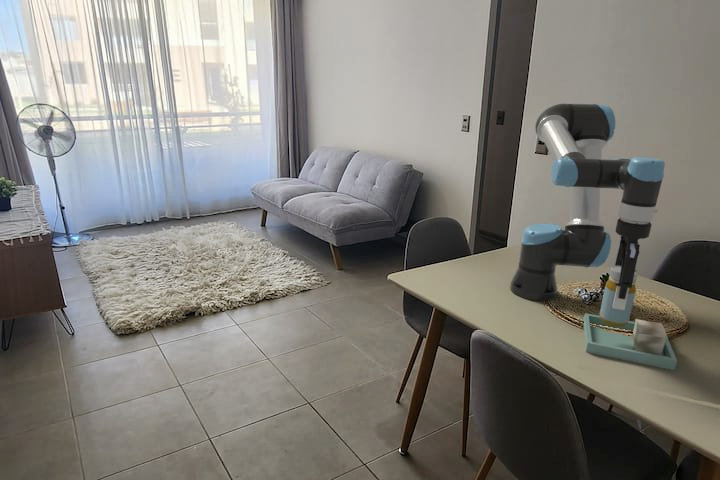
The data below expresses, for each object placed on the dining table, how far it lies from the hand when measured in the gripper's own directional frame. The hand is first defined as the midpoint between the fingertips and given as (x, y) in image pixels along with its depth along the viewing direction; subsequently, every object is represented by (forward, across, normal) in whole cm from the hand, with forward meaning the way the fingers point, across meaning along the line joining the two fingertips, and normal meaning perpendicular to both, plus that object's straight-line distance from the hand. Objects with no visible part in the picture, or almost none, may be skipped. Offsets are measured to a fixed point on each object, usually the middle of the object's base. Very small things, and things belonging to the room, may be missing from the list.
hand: (616, 302), depth 123 cm
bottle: (+6, 0, 0) cm, 6 cm away
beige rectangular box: (+12, 0, -9) cm, 15 cm away
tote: (+12, 0, -4) cm, 13 cm away
